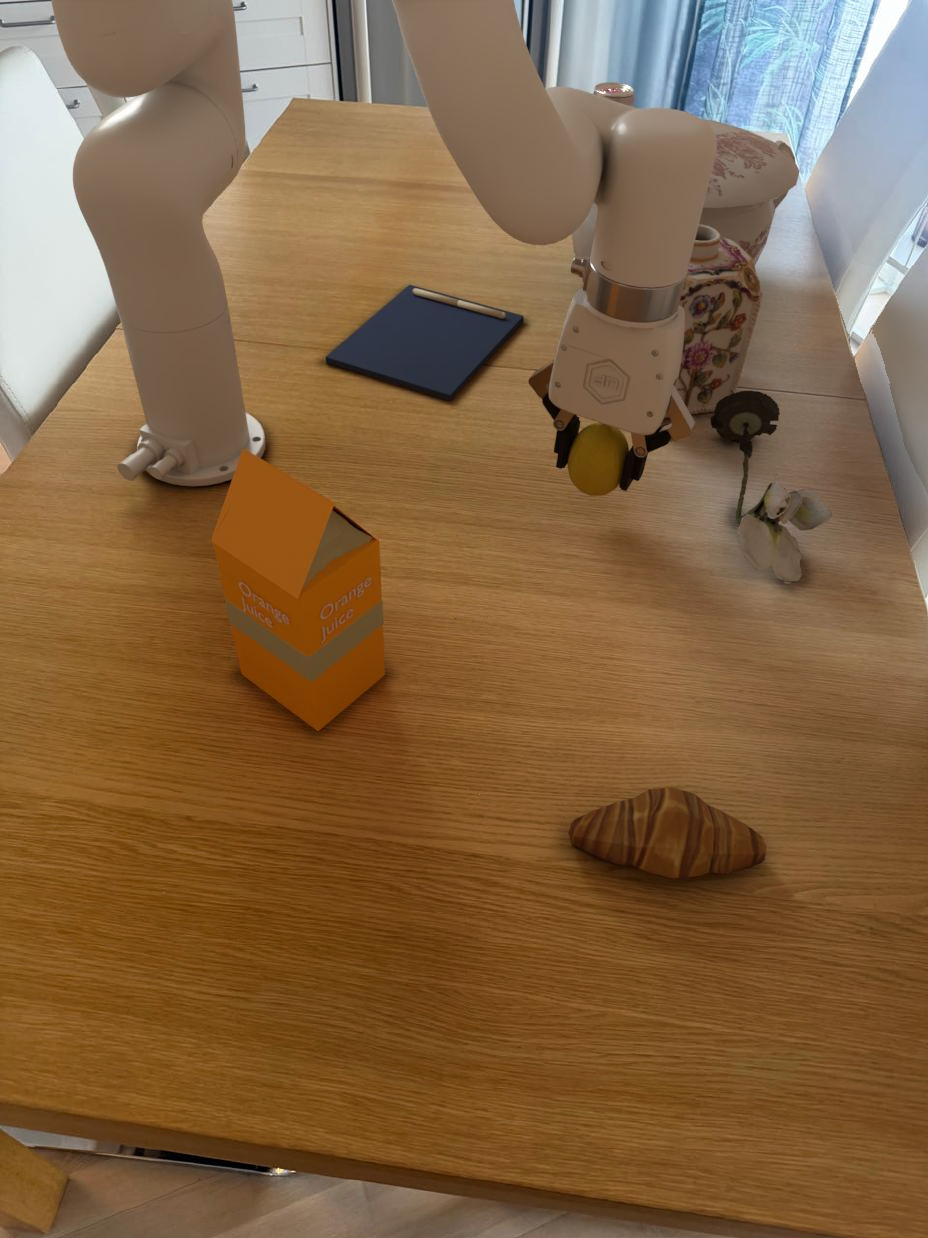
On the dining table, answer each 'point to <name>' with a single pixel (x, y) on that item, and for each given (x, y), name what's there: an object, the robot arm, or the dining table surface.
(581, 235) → the chamber pot
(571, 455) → the lemon
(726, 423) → the artificial flower
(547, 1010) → the dining table surface
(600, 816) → the croissant
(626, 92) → the beverage can
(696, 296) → the decorative jar
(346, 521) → the orange juice
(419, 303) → the clipboard
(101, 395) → the dining table surface
